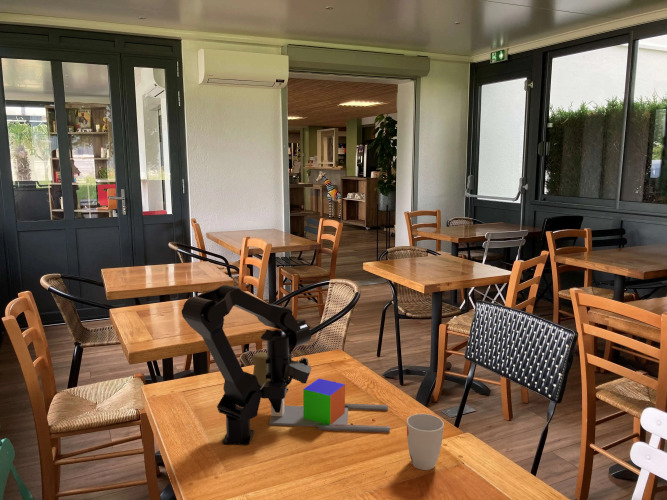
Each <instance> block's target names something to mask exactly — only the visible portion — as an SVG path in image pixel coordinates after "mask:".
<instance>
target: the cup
mask: <svg viewBox="0 0 667 500" xmlns="http://www.w3.org/2000/svg"><path fill="white" fill-rule="evenodd" d="M444 426H445V423H444V421H443V420H442V419H441V418H440V417H438V416H436V415H433V414H430V413H429V414H428V413H415V414H412V415H410V416H408V417H407V418H406V438H407V439H406V440H407V446H408V447H407V448H408V453H409V454H408V455H409V456H410V460H411V463H412V466H413V467H414V468H416V469H418V470H422V471H430V470H432V469H434V468H435V466H436V464H437V461H438V459H439V455H440V452H441V447H442V444H443V435H444Z"/></svg>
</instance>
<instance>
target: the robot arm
mask: <svg viewBox="0 0 667 500" xmlns="http://www.w3.org/2000/svg"><path fill="white" fill-rule="evenodd" d="M233 307H236V308H238V309H240V310H242V311H245V312H246V313H249V314H251V315H253V316H255V317H256V318H257V320H258V321H259V322H260V323H262V325H265V326H266V327H269V328H274V329H273V330H270V329H266V330H265V332H264V333H262V335H261V336H260V340H263V341H266V353H267V358H266V364H267V374H266V379H270V380H269V381H266V382H265V383H264V384H263V385H262V386H260V385H259V383H258V380H257V377H256V376H255V375H253V373H250V372H248V371H244V370H243V368H242V367H243V366H242V365H241V364H240V362H239V360H238V358H237V355H236V353H235V351H234V349H233V347H232V345H231V343H230V341H229V338H228V337H227V334H226V333H225V331H224V324H225V323H224V322H225V317H226V316H227V315H229V314H230V312H231V311H232V309H233ZM181 315H182V318H183V319H184V321H185V322H186V323H187V324H188V325H189V327H190V328H191V329H193V330H194V331H195V332H196V333H197V334H199V335H200V336H201V337H202V339H203V341H204V343H205V345H206V347H207V349H208V351H209V353H210V355H211V356H212V358H213V361H214V362H215V364H216V366H217V368H218V370H219V373H220V374H221V376H222V378H223V380H224V381H223V388H222V389H223V392H224V394H223V395H222V397H221V398H220V400H219V402H218V404H217V405H216V408H217V410H218V413H219V414H223V415H225V429H226V430H225V431H226V432H225V433H226V434H225V435H224V438H223V439H222V441H221V444H223V445H238V446H239V445H241V446H243V445H244V446H248V445H250V443H251V442H252V441H251V440H252V438H253V436H254V433H255V430H254V429H251V419H254V418H255V417H257V415H258V413H259V408H260V404H261V399H268V401H269V402H270V406H271V405H272V406H273V408H274V410H275V412H276V413H279V412H280V409H281V403H282V399H283V398H284V399H285V398H286V396H287V393H288V391H289V388H288V386H289V385H290V384H291V383H292V380H295V381H297V382H300V383H301V384H303V385H304V384H307V382H308V379H309V376H310V374H311V371H312V366H311V364H309V359H308V358H306V357H305V356H304V357H301V358H300V359H299V360H294V359H293V358H292V357H293V356H292V355H291V353H290V349H295V348H297V347H299V346H302V345H305V344H307V343H309V342H310V341H311V339H312V332H311V330H310V327H309V325H307V324H306V320H305V319H301V318H298V319H297V320H296V318H295V317H294V313H293V310H292V309H291V308H289V307H285V306H281V305H277V304H271V303H268V302H266V301H264V300H262V299H260V298H258V297H256V296H254V295H252V294H250V293H248V292H245V291H243V290H241V288H240V287H237V286H233V285H228V284H222V285H220V286H219V287H217V288H215V289H213V290H209V291H205V292H202V293H199V294H198V295H196V296H190V297H189V298H188V299H186V301H185V302H184V304H183V306H182V309H181ZM292 359H293V360H292ZM260 388H261V389H260Z"/></svg>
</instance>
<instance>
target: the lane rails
mask: <svg viewBox="0 0 667 500" xmlns="http://www.w3.org/2000/svg"><path fill="white" fill-rule="evenodd" d="M345 408H348V410H357V411H359V410H360V411H363V410H364V411H389V405H388V404H369V403H365V404H364V403H363V404H362V403H345ZM317 430H318V431H341V432H366V433H369V432H370V433H391V426H389V425H370V424H369V425H366V424H362V425H361V424H347V425H342V424H318V427H317Z"/></svg>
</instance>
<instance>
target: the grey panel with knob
mask: <svg viewBox="0 0 667 500" xmlns="http://www.w3.org/2000/svg"><path fill="white" fill-rule="evenodd" d="M270 414H271V415H270V418H269V421H268V426H288V427H311V428H312V427H315V428H318V424H323V423H320V422H316V421H312V420H309V419H305V418H303V405H301V406H300V405H285V398H283V399H282V403H281V409H280V412H279V413H276V412H275V410H274V408H273V406H272V405H271V404H270ZM348 417H349V409H348V408H345V413H344V414H343V415H342V416H340V417H339V418H338V419H337V420H336V421H335V422H334V423H332V424H342V425H348V420H349V419H348Z"/></svg>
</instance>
